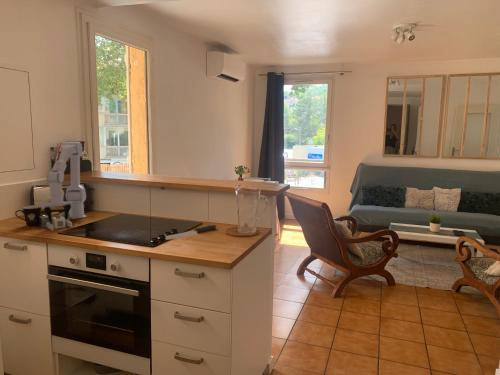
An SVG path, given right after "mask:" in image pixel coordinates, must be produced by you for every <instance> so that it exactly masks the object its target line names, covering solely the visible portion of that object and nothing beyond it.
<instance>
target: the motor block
mask: <svg viewBox="0 0 500 375" xmlns="http://www.w3.org/2000/svg"><path fill="white" fill-rule="evenodd" d="M56 216H62V217H64V218H65V214H64V211H63V212H59V211H55V212H51V218H54V217H56ZM65 220H68V221H70V222H71V218H70V214H69V213H68V218H67V219H65ZM46 222H49V223H50V224H52V222H50V221H49V218H48V216H47V214H41V216H39V226H38V227H40V226H41V229H43V228H47V227H46Z"/></svg>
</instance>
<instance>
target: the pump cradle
mask: <svg viewBox="0 0 500 375" xmlns="http://www.w3.org/2000/svg"><path fill="white" fill-rule="evenodd" d="M65 226H67V227H68V228H73V222H71V220H70V221H68V220H65ZM45 228H47V229H49V230H50V231H55V228H54V226H53V225H52V224H50V223H49V222H46V227H45Z"/></svg>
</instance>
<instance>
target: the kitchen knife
mask: <svg viewBox="0 0 500 375" xmlns="http://www.w3.org/2000/svg"><path fill="white" fill-rule="evenodd" d="M216 229H217V225H216V224H208V225H204V226H200V227H198V228H194V229H193V230H189V231H185V232H180V233H175V234H169V235H166V236H165V240H166V241H167V240H174V239H181V238H185V237H191V236H197V235H199V233H204V232H208V231H215V230H216Z"/></svg>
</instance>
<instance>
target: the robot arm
mask: <svg viewBox="0 0 500 375" xmlns="http://www.w3.org/2000/svg"><path fill="white" fill-rule="evenodd" d="M59 148H60V155H59V157H58V160H56V161H55V162H54V164H53V167H52V169H51V171H49V172H47V174H46V181H47V184H48V187H49V194H50V195H49V196H50V202H49V203H42V204H41V205H40V206H41V210H42V209H43V210H44V212H45V215H47V216H48V218H49V221H50V222H52V218H51V213H52V209H51V208H57V207H63V210H64V211H63V212H64V214H65V219H67V218H68V214H70V219H72V220H76V219H81V218H87V215H85V211H84V209H85V208H84V202H85V201H86V200H87V192H86V188H85V187H83V186H82V185H81V157H82V156H83V145H82V144H81V142H80V141H62V142H61V143H60V147H59ZM68 160H70V185H69V186H68V187H67V188H66V193H65V199H66V201H64V196H63V184H62V183H63V181H64V180H65V171H66V168H67V162H68Z"/></svg>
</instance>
